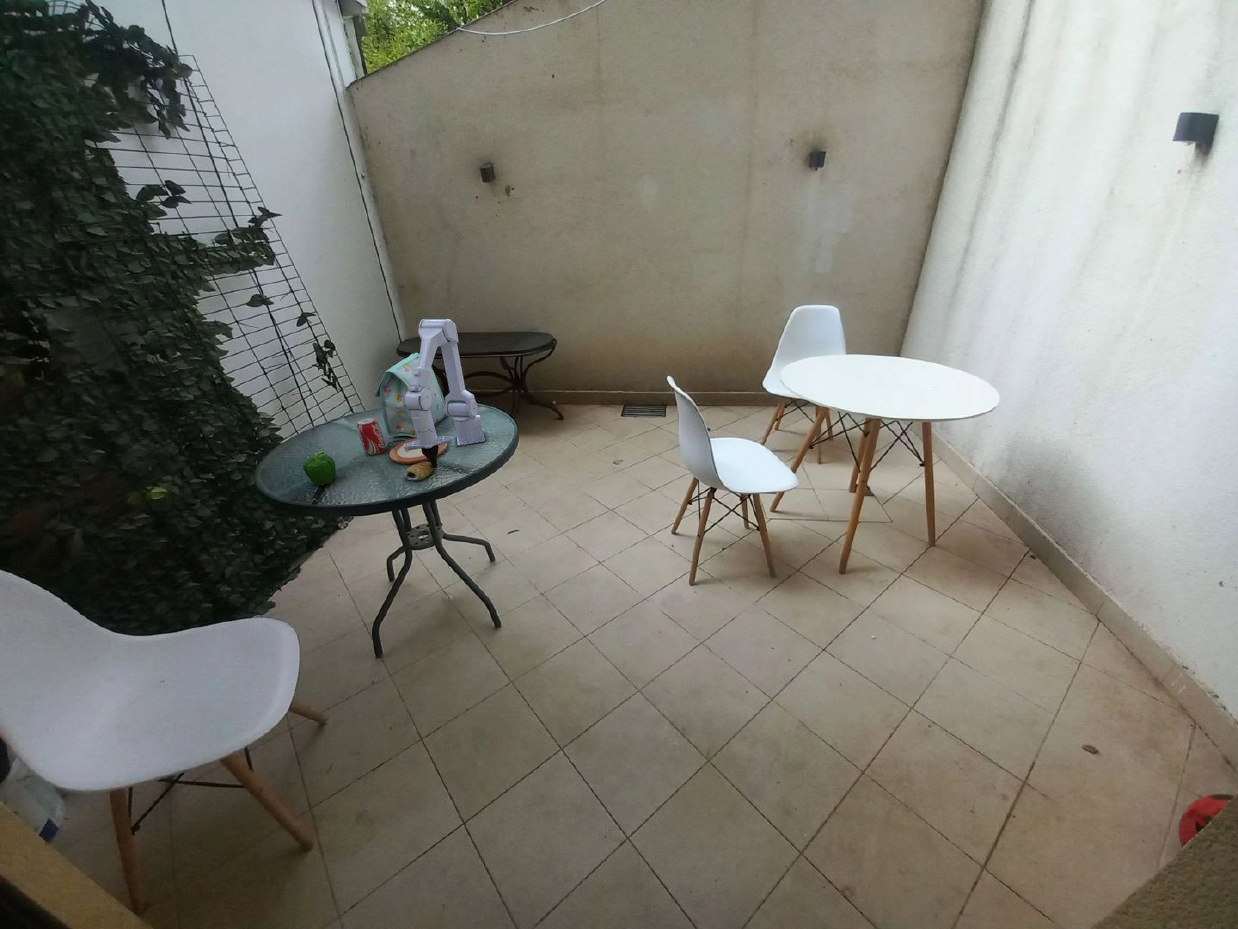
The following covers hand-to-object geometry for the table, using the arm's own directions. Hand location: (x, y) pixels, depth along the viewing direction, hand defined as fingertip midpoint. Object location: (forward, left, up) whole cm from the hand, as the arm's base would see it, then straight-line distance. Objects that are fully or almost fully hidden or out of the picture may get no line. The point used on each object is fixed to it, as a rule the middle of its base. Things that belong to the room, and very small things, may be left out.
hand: (435, 466), depth 154 cm
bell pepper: (+34, -6, -2) cm, 35 cm away
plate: (+6, -16, -1) cm, 18 cm away
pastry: (+5, +1, -2) cm, 5 cm away
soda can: (+21, -23, -2) cm, 31 cm away
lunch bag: (+7, -40, -2) cm, 41 cm away
